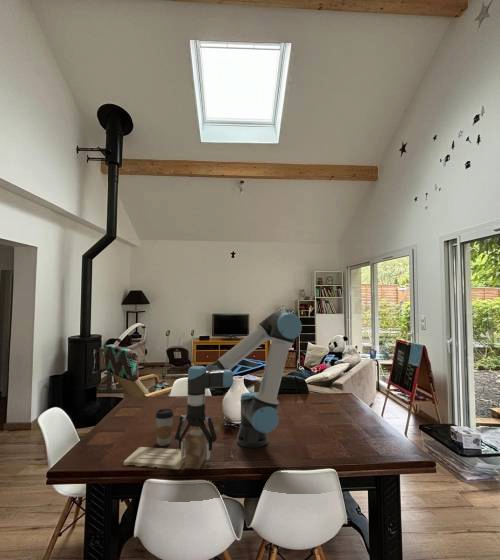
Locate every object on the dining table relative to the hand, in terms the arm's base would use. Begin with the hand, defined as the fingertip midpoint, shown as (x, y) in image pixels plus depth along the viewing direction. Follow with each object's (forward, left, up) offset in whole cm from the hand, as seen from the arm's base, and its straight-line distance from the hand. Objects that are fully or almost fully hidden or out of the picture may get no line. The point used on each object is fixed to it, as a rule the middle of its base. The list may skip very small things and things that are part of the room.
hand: (195, 457), depth 137 cm
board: (+17, -1, -2) cm, 17 cm away
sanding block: (0, 0, -2) cm, 2 cm away
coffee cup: (+21, -17, -3) cm, 27 cm away
